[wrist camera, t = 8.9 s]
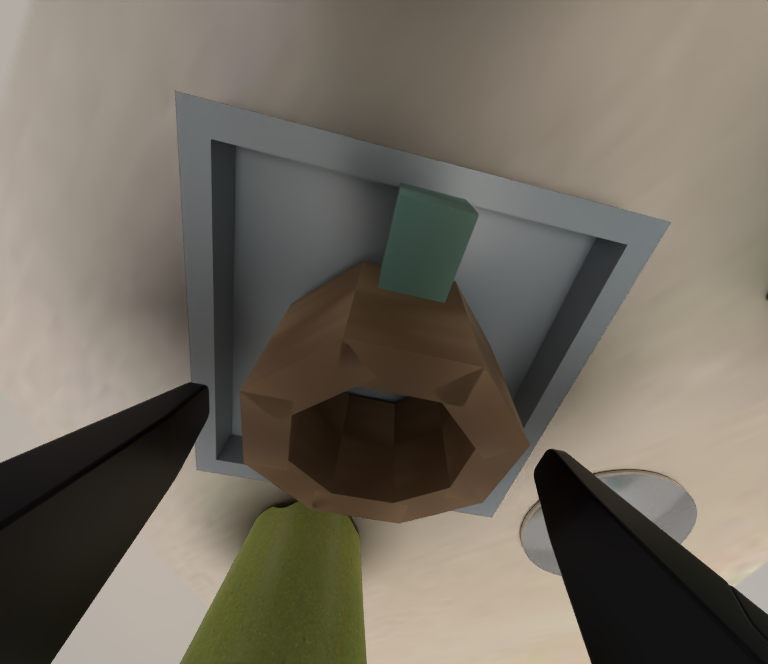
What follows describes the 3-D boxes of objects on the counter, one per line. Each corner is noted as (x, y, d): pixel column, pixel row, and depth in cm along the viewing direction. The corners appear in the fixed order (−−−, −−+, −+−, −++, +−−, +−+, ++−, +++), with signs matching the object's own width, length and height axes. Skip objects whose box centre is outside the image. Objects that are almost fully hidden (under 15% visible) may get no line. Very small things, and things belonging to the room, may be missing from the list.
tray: (217, 108, 9) (175, 90, 7) (620, 214, 10) (671, 222, 8) (220, 434, 15) (196, 469, 13) (480, 479, 16) (491, 517, 14)
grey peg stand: (566, 456, 15) (652, 588, 10) (728, 485, 16) (880, 621, 11) (496, 559, 19) (534, 690, 14) (629, 579, 20) (708, 709, 15)
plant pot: (418, 509, 17) (445, 790, 9) (350, 590, 21) (328, 838, 13) (251, 453, 15) (108, 741, 7) (210, 553, 19) (87, 813, 11)
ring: (285, 403, 13) (245, 499, 10) (300, 156, 8) (225, 183, 4) (444, 432, 14) (458, 532, 10) (557, 222, 8) (658, 289, 5)
